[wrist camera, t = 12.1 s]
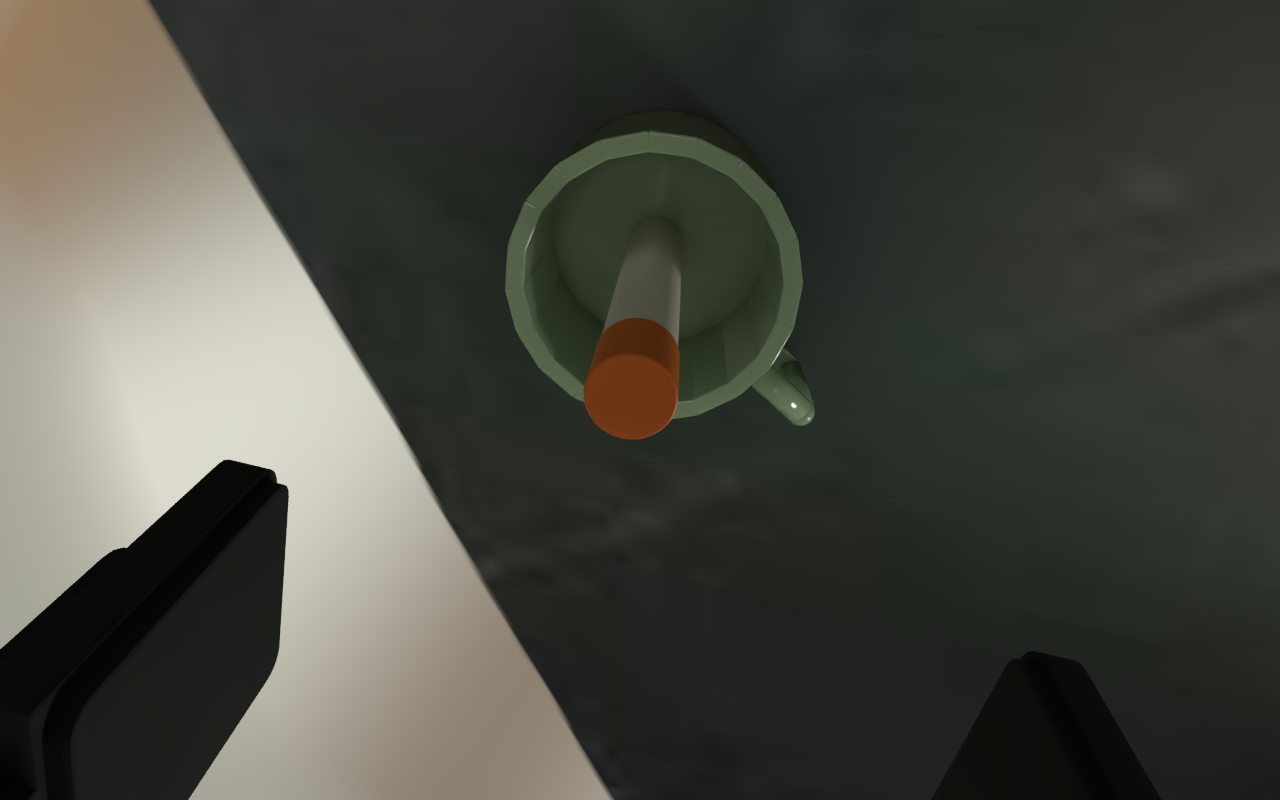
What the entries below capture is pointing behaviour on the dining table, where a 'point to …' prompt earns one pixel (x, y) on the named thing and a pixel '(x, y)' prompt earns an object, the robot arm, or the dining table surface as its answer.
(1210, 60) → the dining table surface
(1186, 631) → the dining table surface
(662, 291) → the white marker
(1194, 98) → the dining table surface
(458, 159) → the dining table surface
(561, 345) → the mug
